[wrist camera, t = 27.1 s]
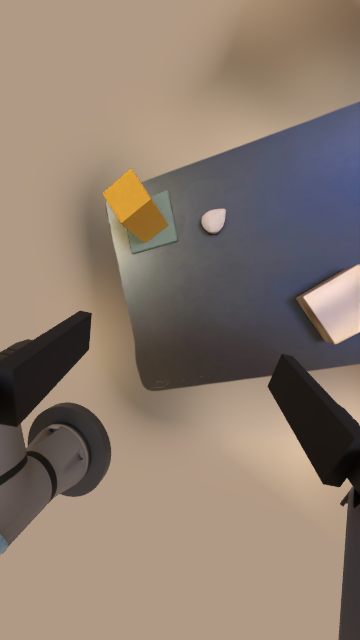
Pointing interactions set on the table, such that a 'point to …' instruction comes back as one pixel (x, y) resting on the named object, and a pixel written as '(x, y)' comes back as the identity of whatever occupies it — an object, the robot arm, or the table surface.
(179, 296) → the table surface
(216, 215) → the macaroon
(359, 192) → the table surface
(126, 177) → the yellow block
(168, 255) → the table surface
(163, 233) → the coaster
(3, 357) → the robot arm
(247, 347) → the table surface
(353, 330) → the birch block
